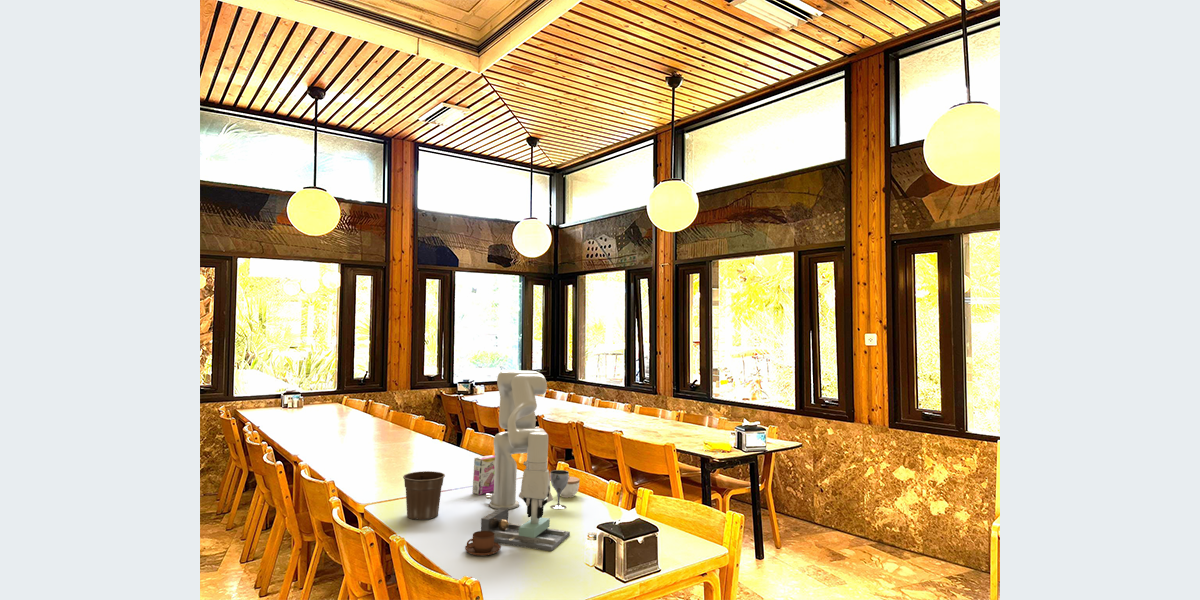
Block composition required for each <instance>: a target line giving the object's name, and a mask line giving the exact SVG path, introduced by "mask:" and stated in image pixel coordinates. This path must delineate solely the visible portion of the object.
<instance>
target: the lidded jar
mask: <svg viewBox="0 0 1200 600" xmlns="http://www.w3.org/2000/svg"><path fill="white" fill-rule="evenodd" d="M580 481H581V480H580V478H578V477H576V476H569V478H568V483H567V486H566V487H565V488H564V489H563V490H562V492H561V494H560V497H562V498H568V497H570V498H574V497H575V496H576V494H577V493H578V492H579V488H580ZM573 496H574V497H573Z"/></svg>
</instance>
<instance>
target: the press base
mask: <svg viewBox="0 0 1200 600" xmlns="http://www.w3.org/2000/svg"><path fill="white" fill-rule="evenodd" d="M509 510H510V509H509V508H504V507H501V508H499V509H496V510H494V511H492V512H490V513H489V514H487V515H485V516H483V517H481V519H480V521H481V522H480V531H491V532H493V533H494V534H495V536H494V542H496V543H498V544H500V545H505V546H514V547H520V548H526V549H533V550H538V551H539V550H540V551H545V552H552V551H554V550H555V549H556V548H557V547H558V546H559V545H561V544H562V543H563V542H564V541H565V540H567V539H568V538H569V537H571V536H570V535H571V531H568V530H562V529H555V528H550V527H548V528H547V529H546V530H544V531H543V532H542V533H540V534H539V535H537V536H536V537H535V538H531V537H524V536H519V527H520V526H521V525H522V524H520V523H514V522H513V523H511V522H509Z"/></svg>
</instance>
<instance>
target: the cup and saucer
mask: <svg viewBox="0 0 1200 600" xmlns="http://www.w3.org/2000/svg"><path fill="white" fill-rule="evenodd" d="M494 536H495V534H494V533H493V532H491V531H481V530H479V531H475V532H474V533H472V538H470V539H469V540H467V542H466V544H465V547H464V548H465V551H466V552H467V553H469V554H470V555H473V556H477V557H479V556H480V557H481V556H482V557H486V556H491V555H494V554H497V553H498V552H499V551H500V550H501V548H502V544H499V543H496V542H494Z"/></svg>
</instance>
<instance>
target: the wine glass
mask: <svg viewBox="0 0 1200 600" xmlns="http://www.w3.org/2000/svg"><path fill="white" fill-rule="evenodd" d="M549 475H550V485H551V487H552V488H553V489H554V490H555V492H556V496H557V503H556V504H552V505H550V506H549V508H550V509H553V510H565V509H567V506H566V505H564V504H560V503H561V502H560V498H561V495H560V494H561V492H562V490H563V489H564V488H565V487H566V486H567V483H568V478H569V477H570V473H569V471H567V470H564V469H563V470H562V469H554V470H551V471H550V472H549Z"/></svg>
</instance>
